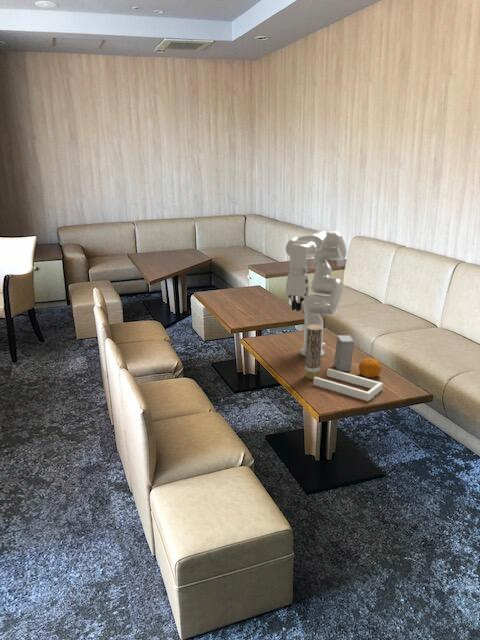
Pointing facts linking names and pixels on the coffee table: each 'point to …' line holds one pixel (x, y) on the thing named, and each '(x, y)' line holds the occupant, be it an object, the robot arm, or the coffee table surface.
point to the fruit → (370, 367)
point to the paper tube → (313, 351)
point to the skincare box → (343, 353)
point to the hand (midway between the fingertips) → (296, 309)
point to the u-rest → (347, 390)
